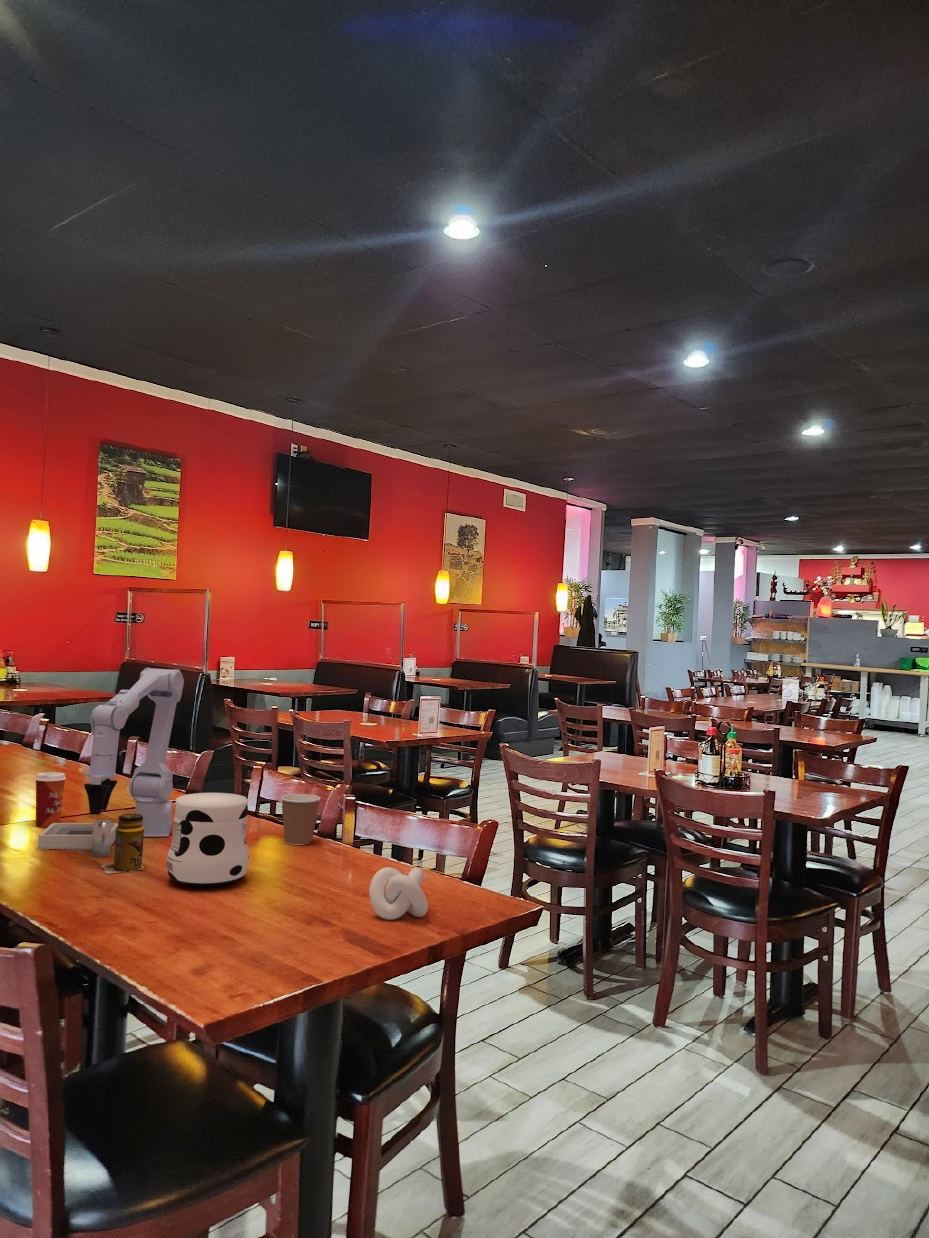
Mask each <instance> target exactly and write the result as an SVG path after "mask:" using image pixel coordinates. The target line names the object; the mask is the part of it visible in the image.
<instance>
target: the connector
mask: <svg viewBox="0 0 929 1238" xmlns="http://www.w3.org/2000/svg"><path fill="white" fill-rule="evenodd" d="M112 822H113V821H112V820H110V819H98V820H94V821H93V822H92V823H93V837H92V850H91V852H90V853H91V854H90V856H91V857H93V858H106V857H109V856H110V854H111V852H110V850H111V847H110V838H111V823H112Z"/></svg>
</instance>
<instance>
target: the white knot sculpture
mask: <svg viewBox="0 0 929 1238" xmlns="http://www.w3.org/2000/svg"><path fill="white" fill-rule="evenodd" d="M424 875H425V873H424V872H423V870H422V869H421V868H419V867H414V868H413V869H411V870H410V871H409V873H408V874H403V873H402V872H401V871H399V870H398V869H396V868H393V867H391V866H389V867H388V866H386V867H383V868H381V869H379V870H377V871H376V873H375V874H374V875H373V876H372V878H371V880H370V884H369V900H370V903H371V906H372V908H373V910H374V912H375V913H376V915H378V916H379V917H380V918H381V919H384V920H385V921H387V920H388V921H392V920H393V921H394V920H397V919H399V918H401V917H402V916H403V915H404V914H405V913H406V912H408V913H409V914H410V915H412V916H413V917H415V918H423V916H426V914H427V912H428V910H429V905H428V900H427V897H426V894H425V893H424V891H423V889H422V888H421V885H422V882H423V880H424V877H425V876H424Z"/></svg>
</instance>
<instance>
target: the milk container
mask: <svg viewBox="0 0 929 1238" xmlns="http://www.w3.org/2000/svg"><path fill="white" fill-rule="evenodd" d="M174 804H175V805H174V816H173V823H172V826H173V827H172V828H173V830H172V831H173V832H172V833H173V834H172V840H171V844H170V847H169V849H168V853H167V857H166V869H167V874H168V876H169V878H170V879H171V880H172V881H174V882H176V883H178V884H181V885H184V886H191V887H197V888H198V887H199V888H200V887H202V888H203V887H207V888H208V887H218V886H223V885H229V884H234V883H235V882H238V881H239V880H241V879H242V878H243V877H244V876H245V875H246V873H247V870H248V868H249V863H250V853H249V847H248V843H247V827H248V811H249V804H248V798H247V796H244V795H241V794H235V793H229V792H228V793H226V792H198V793H196V792H195V793H188V794H184V795H183V794H182V795H179V796H178V797H176V800H175V803H174Z"/></svg>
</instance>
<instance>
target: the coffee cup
mask: <svg viewBox="0 0 929 1238" xmlns="http://www.w3.org/2000/svg"><path fill="white" fill-rule="evenodd" d="M280 799H281V800H282V801H281V802H282V820H283V821H282V823H283V837H284V842H286V843H289V844H292V845H304V844H308V843H310V842H311V841H312V842H313V838H314V833H315V827H316V822H317V821H316V820H317V815H318V809H319V803H320V800H321V797H320V796H318V795H316V794H315V795H314V794H305V793H293V794H292V793H291V794H285V795H282V796H281V797H280ZM312 842H311V843H312ZM286 843H285V844H286ZM292 845H291V846H292Z"/></svg>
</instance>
